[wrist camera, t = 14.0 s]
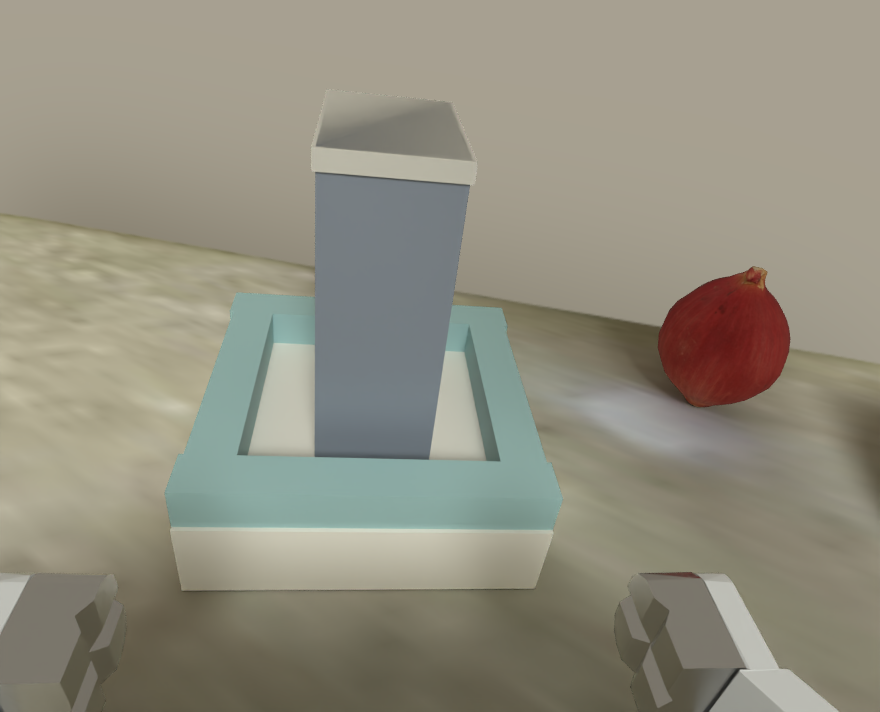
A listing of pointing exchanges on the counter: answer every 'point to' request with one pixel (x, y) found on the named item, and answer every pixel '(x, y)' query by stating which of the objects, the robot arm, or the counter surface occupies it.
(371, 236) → the blue-grey box
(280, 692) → the counter surface
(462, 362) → the display stand
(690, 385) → the onion
